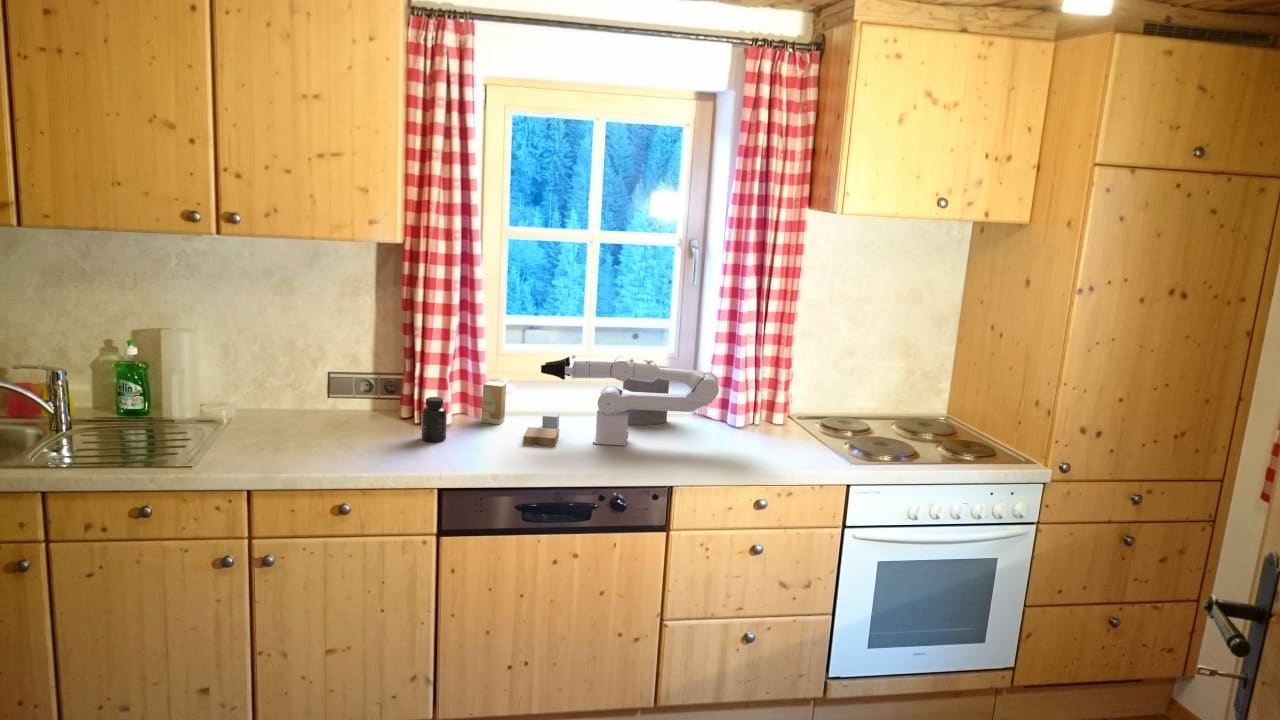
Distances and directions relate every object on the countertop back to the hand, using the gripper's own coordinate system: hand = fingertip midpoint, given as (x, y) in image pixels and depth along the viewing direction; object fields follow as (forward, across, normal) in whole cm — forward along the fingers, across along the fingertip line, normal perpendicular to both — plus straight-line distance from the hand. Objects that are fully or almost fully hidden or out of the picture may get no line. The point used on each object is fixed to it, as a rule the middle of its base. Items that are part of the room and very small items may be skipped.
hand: (543, 367), depth 270 cm
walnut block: (0, +2, +22) cm, 22 cm away
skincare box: (+18, -14, +18) cm, 29 cm away
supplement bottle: (+30, +8, +20) cm, 37 cm away
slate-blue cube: (0, -11, +20) cm, 23 cm away
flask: (-28, -25, +20) cm, 42 cm away
